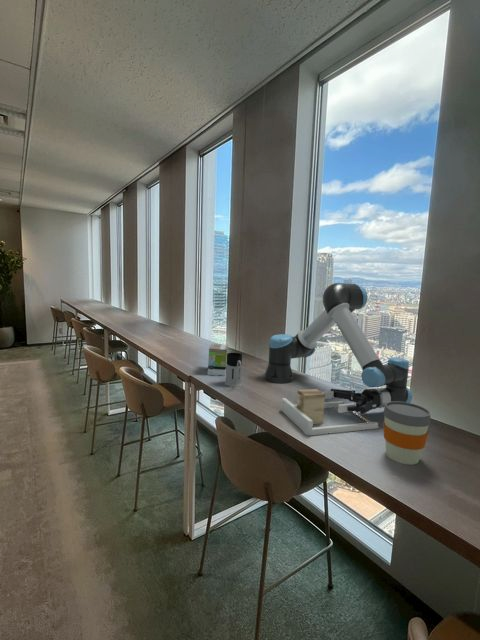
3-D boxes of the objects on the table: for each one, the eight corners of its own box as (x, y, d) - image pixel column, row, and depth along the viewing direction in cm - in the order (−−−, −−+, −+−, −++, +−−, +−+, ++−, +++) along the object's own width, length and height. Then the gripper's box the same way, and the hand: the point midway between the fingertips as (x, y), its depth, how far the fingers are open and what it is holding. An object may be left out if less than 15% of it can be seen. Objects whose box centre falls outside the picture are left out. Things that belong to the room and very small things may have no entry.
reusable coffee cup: (373, 444, 104) (377, 399, 103) (412, 447, 104) (417, 402, 102) (389, 466, 92) (395, 416, 90) (434, 469, 92) (440, 418, 90)
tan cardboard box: (295, 418, 123) (297, 390, 122) (314, 416, 125) (316, 388, 124) (303, 424, 117) (305, 395, 116) (322, 423, 119) (325, 394, 118)
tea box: (225, 376, 174) (227, 349, 172) (207, 375, 174) (208, 348, 172) (227, 368, 189) (228, 343, 187) (210, 368, 189) (211, 343, 187)
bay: (281, 410, 130) (282, 398, 129) (344, 405, 138) (345, 394, 138) (307, 435, 109) (308, 421, 108) (379, 428, 117) (381, 414, 117)
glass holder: (238, 380, 166) (240, 352, 165) (248, 389, 153) (249, 358, 151) (222, 381, 164) (223, 352, 162) (230, 391, 150) (231, 359, 148)
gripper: (397, 420, 117) (347, 425, 111) (354, 396, 141) (310, 399, 134) (400, 400, 116) (349, 404, 110) (356, 379, 140) (312, 382, 133)
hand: (328, 401), depth 122 cm, fingers open, 13 cm apart
